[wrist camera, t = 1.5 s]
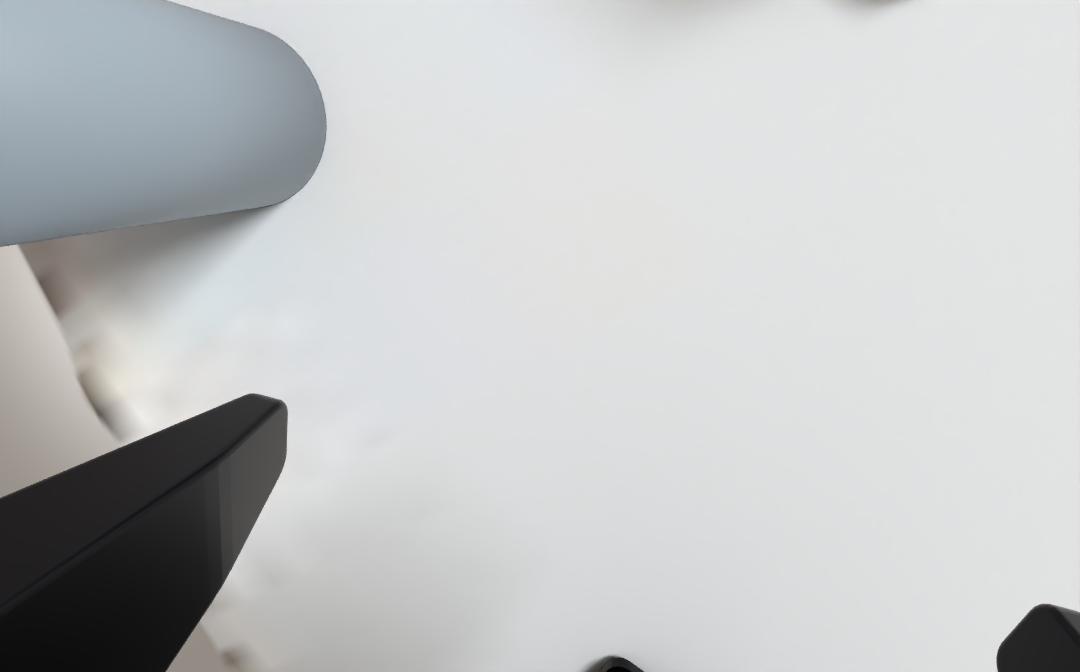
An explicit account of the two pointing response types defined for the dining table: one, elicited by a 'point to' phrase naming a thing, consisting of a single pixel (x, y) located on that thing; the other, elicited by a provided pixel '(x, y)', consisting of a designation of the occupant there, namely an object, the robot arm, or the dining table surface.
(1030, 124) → the dining table surface
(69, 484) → the robot arm
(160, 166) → the tin
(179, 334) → the dining table surface
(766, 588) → the dining table surface
